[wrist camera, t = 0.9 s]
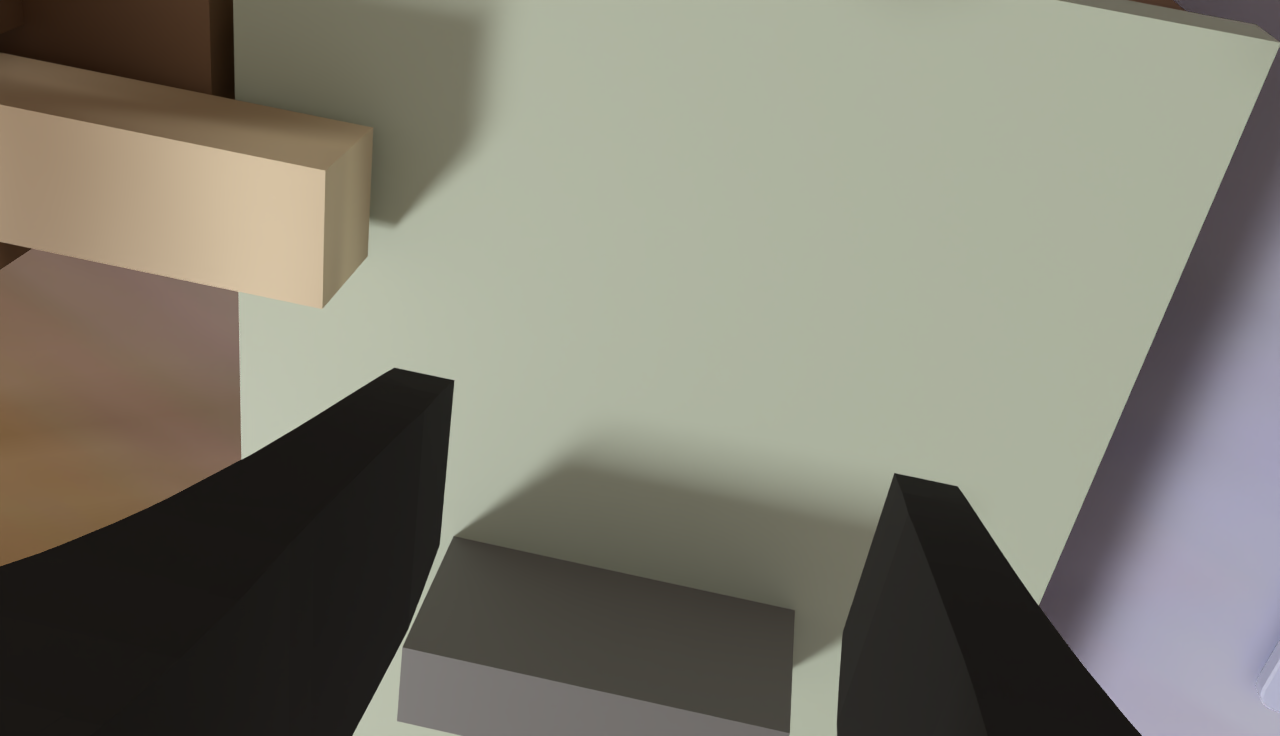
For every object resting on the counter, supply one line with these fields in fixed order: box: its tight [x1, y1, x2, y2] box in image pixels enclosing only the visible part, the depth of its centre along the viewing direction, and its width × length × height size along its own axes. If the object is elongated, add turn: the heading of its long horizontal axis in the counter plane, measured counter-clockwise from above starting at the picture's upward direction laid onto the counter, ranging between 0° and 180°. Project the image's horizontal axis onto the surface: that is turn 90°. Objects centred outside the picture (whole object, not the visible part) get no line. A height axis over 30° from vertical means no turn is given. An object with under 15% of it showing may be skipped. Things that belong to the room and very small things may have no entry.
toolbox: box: [0, 0, 1185, 269], centre depth 21 cm, size 18×18×6 cm
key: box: [0, 53, 373, 309], centre depth 16 cm, size 7×2×2 cm, turn 81°
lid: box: [233, 0, 1280, 736], centre depth 19 cm, size 14×19×4 cm
